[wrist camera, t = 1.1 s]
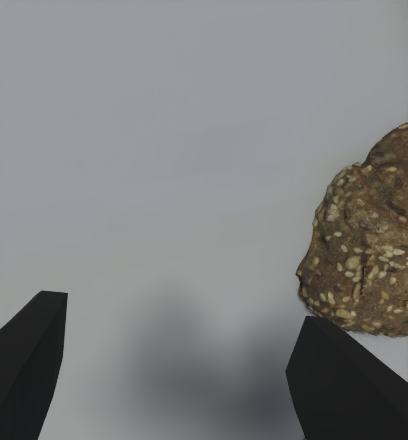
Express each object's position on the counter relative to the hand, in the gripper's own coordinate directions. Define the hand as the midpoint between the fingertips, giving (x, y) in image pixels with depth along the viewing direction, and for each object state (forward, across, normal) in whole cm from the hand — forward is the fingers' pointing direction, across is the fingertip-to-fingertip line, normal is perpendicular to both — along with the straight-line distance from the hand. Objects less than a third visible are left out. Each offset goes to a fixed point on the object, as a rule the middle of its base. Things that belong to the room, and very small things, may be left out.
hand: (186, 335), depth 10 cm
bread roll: (+11, -14, 0) cm, 18 cm away
